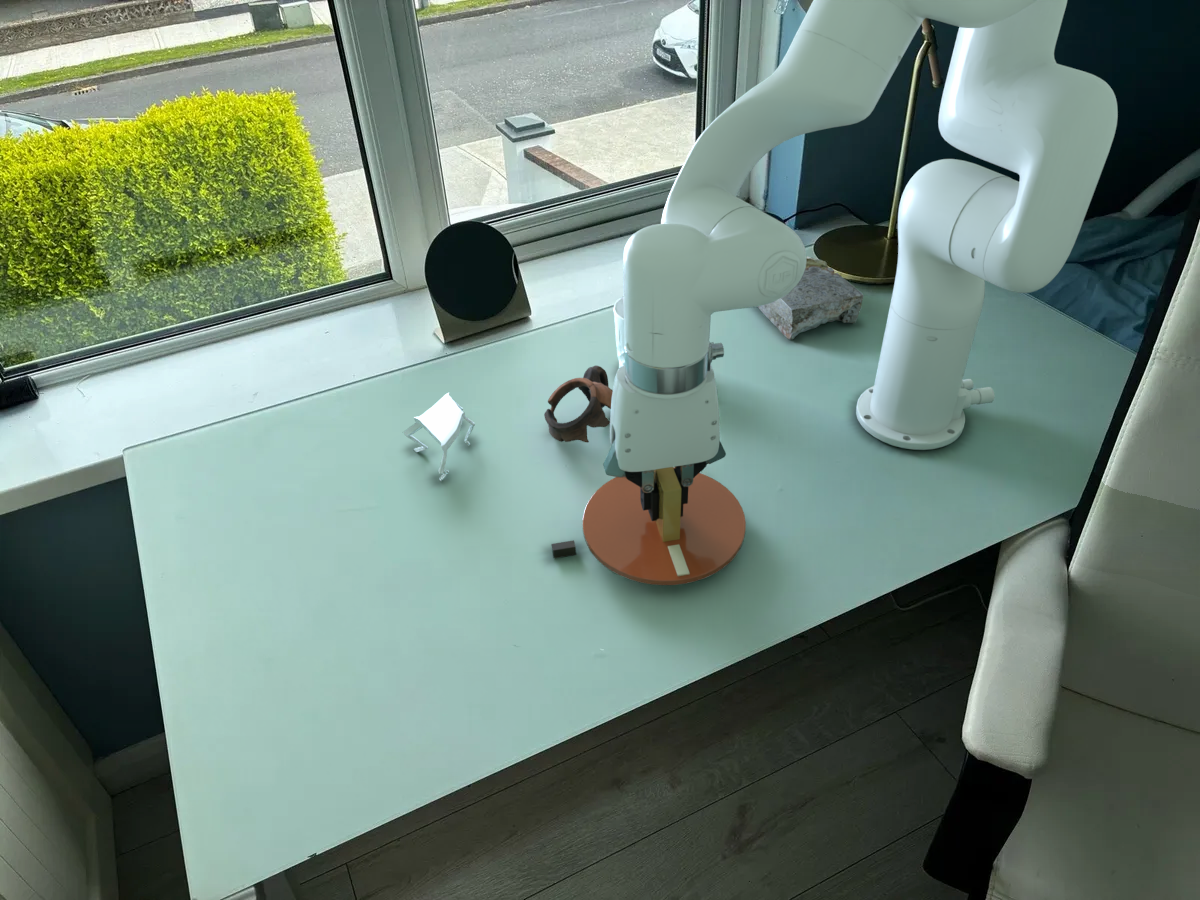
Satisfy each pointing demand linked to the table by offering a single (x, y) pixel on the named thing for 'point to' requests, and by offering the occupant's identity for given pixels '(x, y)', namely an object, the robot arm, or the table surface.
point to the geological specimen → (814, 301)
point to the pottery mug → (593, 416)
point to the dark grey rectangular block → (563, 549)
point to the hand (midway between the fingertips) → (663, 508)
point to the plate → (642, 540)
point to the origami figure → (441, 427)
